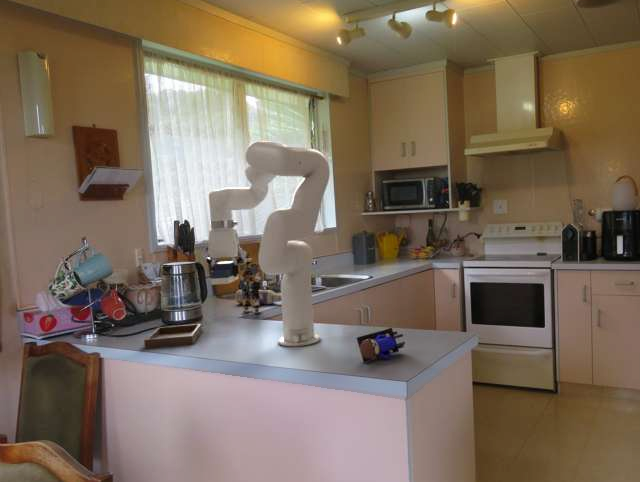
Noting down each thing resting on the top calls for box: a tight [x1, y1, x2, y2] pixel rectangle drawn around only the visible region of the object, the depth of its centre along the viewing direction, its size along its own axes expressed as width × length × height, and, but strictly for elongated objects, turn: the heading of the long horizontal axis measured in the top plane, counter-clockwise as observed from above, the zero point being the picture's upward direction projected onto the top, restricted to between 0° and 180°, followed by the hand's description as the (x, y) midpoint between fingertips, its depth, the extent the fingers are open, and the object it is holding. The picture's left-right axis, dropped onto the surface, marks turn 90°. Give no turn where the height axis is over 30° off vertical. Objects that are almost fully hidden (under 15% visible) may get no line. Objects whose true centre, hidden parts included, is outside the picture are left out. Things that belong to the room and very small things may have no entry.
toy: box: [237, 253, 263, 316], centre depth 222 cm, size 14×9×25 cm, turn 47°
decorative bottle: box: [234, 289, 281, 306], centre depth 245 cm, size 26×8×7 cm, turn 68°
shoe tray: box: [143, 323, 203, 350], centre depth 181 cm, size 20×15×3 cm
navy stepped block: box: [210, 260, 239, 286], centre depth 187 cm, size 6×14×6 cm, turn 1°
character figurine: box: [356, 327, 406, 363], centre depth 144 cm, size 8×7×15 cm
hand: (226, 276), depth 189 cm, fingers closed on navy stepped block, 6 cm apart
